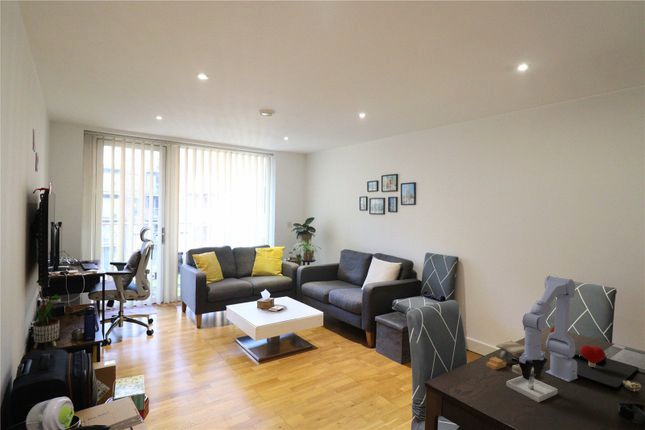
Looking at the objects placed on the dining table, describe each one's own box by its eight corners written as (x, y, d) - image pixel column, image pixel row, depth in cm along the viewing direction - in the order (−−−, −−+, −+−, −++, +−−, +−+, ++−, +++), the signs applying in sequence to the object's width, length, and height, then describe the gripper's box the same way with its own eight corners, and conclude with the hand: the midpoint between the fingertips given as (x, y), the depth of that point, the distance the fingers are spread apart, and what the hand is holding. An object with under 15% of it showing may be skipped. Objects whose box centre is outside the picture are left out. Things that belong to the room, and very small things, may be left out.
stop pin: (534, 389, 138) (535, 374, 138) (531, 390, 137) (532, 375, 137) (530, 387, 140) (530, 372, 139) (526, 388, 139) (527, 373, 139)
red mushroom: (582, 368, 158) (583, 347, 158) (577, 362, 165) (578, 342, 165) (607, 372, 155) (608, 351, 155) (601, 366, 161) (602, 345, 161)
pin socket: (536, 374, 151) (537, 369, 151) (527, 378, 148) (527, 372, 148) (521, 368, 157) (521, 362, 157) (512, 371, 154) (512, 365, 154)
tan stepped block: (494, 370, 155) (495, 363, 155) (486, 366, 159) (486, 359, 159) (506, 367, 159) (506, 359, 159) (497, 363, 163) (497, 356, 163)
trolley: (528, 362, 164) (529, 347, 164) (511, 368, 157) (511, 352, 157) (510, 355, 172) (511, 341, 171) (493, 360, 165) (493, 345, 165)
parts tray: (557, 393, 136) (557, 389, 136) (538, 402, 129) (538, 396, 129) (524, 379, 147) (524, 374, 147) (506, 386, 141) (506, 381, 141)
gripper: (532, 350, 131) (531, 385, 131) (553, 344, 138) (552, 377, 138) (514, 343, 137) (513, 377, 137) (535, 338, 144) (534, 369, 144)
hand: (531, 376), depth 138 cm, fingers open, 7 cm apart
